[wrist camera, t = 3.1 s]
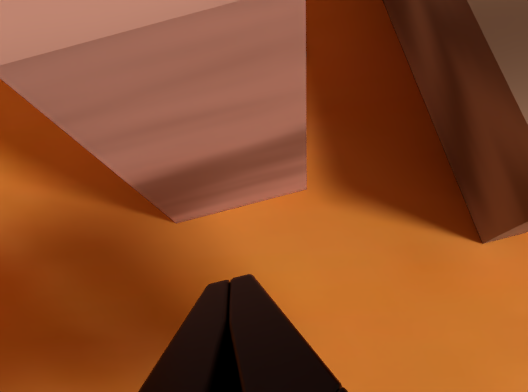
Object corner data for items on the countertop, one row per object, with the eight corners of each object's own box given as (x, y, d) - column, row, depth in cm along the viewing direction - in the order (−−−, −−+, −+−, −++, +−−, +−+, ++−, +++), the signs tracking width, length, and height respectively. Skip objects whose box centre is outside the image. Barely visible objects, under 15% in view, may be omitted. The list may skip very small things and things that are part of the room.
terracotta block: (306, 189, 16) (305, -18, 7) (176, 223, 16) (-13, 68, 7) (273, 76, 18) (234, -223, 8) (155, 107, 18) (-23, -152, 8)
